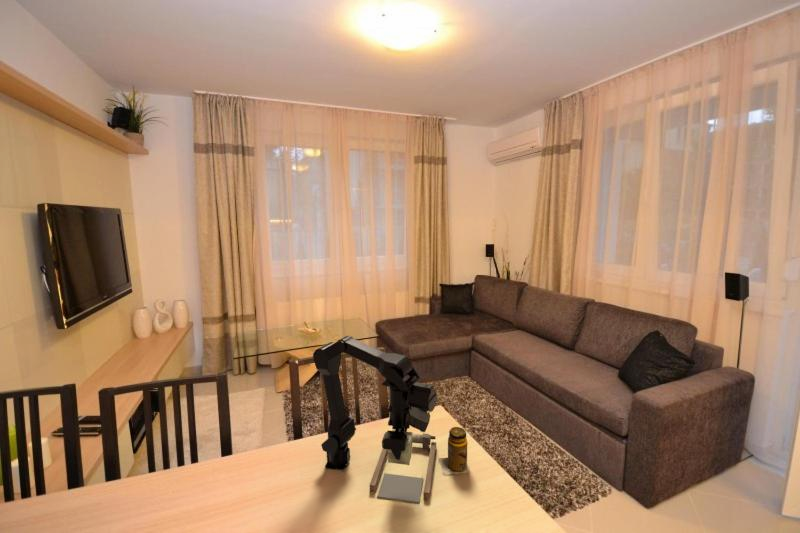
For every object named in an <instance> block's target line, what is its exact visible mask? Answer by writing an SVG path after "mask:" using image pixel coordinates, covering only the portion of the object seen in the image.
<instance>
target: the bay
mask: <svg viewBox="0 0 800 533" xmlns="http://www.w3.org/2000/svg"><path fill="white" fill-rule="evenodd" d="M432 440H436V436H435V435H431V434H429V433H425V432H422V434H421V433H420V434H419V433H412V444H420V445H422V450H426V451H427V450H429V448H430V450H429V455H428V462H427V468H426V473H425V474H426V475H425V478H424V486H423V494H422V495H423V497H422V498H423V500H424V501H430V496H431V489H432V483H433V477H434V468H435V467H434V466H435V459H436V455H437V454H436V452H437V442H436V441H432ZM387 459H388V449H383V448H382V449H381V451H380V455H379V457H378V460H377V462H376V466H375V468H374V471H373V475H372V477H371V479H370V482H369V493H373V494H375V493H376V491H377V488H378V486H379V482H380V479H381V476H382V474H383V471H384V467H385V464H386V461H387Z"/></svg>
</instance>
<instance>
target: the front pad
mask: <svg viewBox="0 0 800 533" xmlns="http://www.w3.org/2000/svg"><path fill="white" fill-rule="evenodd" d="M423 483H424V478H423V477H416V476H408V475H403V474H402V475H401V474H400V475H399V474H393V473H386V472H385V473H383V477H382V480H381V483H380V487H379V489H378V493H377V495H376V498H377V499H385V500H386V499H387V500H392V501H399V502H405V503H413V504H420V501H421V495H422V489H423Z"/></svg>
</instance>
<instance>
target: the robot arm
mask: <svg viewBox="0 0 800 533" xmlns="http://www.w3.org/2000/svg"><path fill="white" fill-rule="evenodd" d="M342 353H343V354H345V355H348V356H349V357H352V358H354V359H356V360H358V361H360V362H363V363H365V365H368V366H371V367H373V368H375V369H376V370H378V373H380V376H382V377H383V378H385V380H384V381H382V382H381V385H382V386H385V387H388V403H389V404H388V407H387V412H388V413H389V418H388V421H387V426H390V427H391V428H392V430H395V431H392V430H387V431H386V432H384V433H383V437H382V440H381V448H382V449H388V450H391V451H392V453H393V455H394V456H395V458H396V459H397V460H400V457H401V452H402V451H404V450H405V449H406V445H407V442H408V439H407V435H406V434H405V433H404V431H405V432H408V429H410V427H412V428H414V429H417V430H418V431H420V432H421V433H425V432H426V431H427V428H428V426H429V424H430V421H431V414H430V413H432V412H433V411H434V410H435V408H436V405H437V401H438V393H437V391H436V389H435V388H434V385H433V384H430V383H429V384H427V383H422V382H419V381H420V380H421V377H420V375H419V374H418V372H417V370H416V369H415V367H414V366H413V363H412V361H411V359H410V358H409V357H408V356H407V355H403V354H400V353H397V352H396V353H395V352H393V353H392V352H384V351H381V350H380V349H378V348H375V347H373V346H370V345H369V344H366V343H364V342H361V341H359V340H357V339H355V338H354V337H353V336H351V335H345V336H344V337H342V338H340V339H338V340H337V341H336V342H333V341H331V342H327V343H326V344H324V345H322V346H321V347H318V348H316V349H315V350H314V351H313V353H312V359H313V362H314V365H315V367H316V368H315V369H316V370H317V372H319V373H320V375H322V377H323V378H322V379H323V385H324V389H325V396H326V401H327V406H328V413H329V422H328V426H327V439H325V441H323V442H322V443H321V444H320V446H321V448H322V451H323V452H325V453H326V463H325V465H324V468H325V469H328V470H329V469H330V470H337V471H345V470H346V468H347V466H348V464H349V463H350V460H351V449H350V447H349V443H348V442H349V441H351V440H352V438H353V437H354V436H355V434H356V431H357V428H356V425H355V419H354V418H350V416H348V414H347V412H346V406H345V400H344V394H343V389H342V383H341V378H340V372H339V370H340V366H341V363H342ZM406 377H408V378H407V379H406V380H405V378H406Z"/></svg>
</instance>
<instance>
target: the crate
mask: <svg viewBox="0 0 800 533" xmlns="http://www.w3.org/2000/svg"><path fill="white" fill-rule="evenodd" d="M391 431H395V429H392V430H391ZM404 433H405V434H406V435H407V439H408V442H407V445H406V449H405V450H404V451H402V452H401V457H400V460H397V459H396V458H395V456H394V455H393V453H392V451H391V450H388V455H387V463H389V464H397V465H405V466H410V463H411V459H412V454H413V443H412V434H413V432H412V431H407V432H405V431H404Z"/></svg>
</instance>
